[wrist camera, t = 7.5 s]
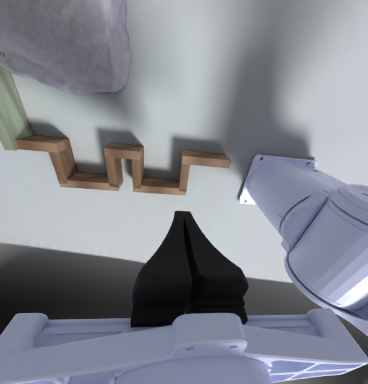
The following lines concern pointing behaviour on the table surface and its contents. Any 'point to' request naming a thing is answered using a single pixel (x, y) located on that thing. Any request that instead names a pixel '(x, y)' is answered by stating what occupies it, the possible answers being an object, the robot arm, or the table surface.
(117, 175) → the trap lane
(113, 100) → the table surface
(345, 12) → the table surface
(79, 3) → the stone block
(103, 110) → the table surface
